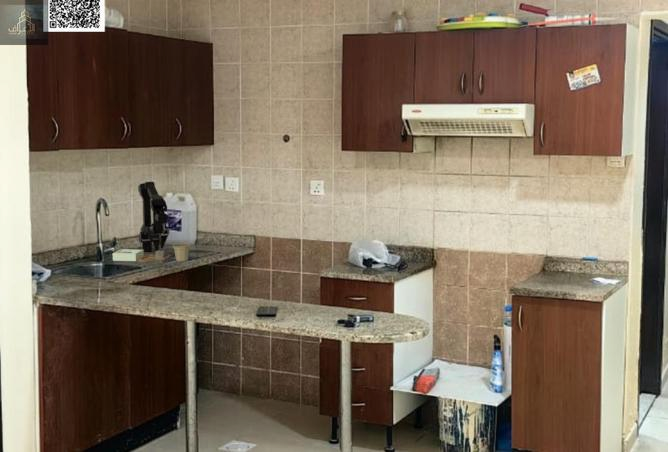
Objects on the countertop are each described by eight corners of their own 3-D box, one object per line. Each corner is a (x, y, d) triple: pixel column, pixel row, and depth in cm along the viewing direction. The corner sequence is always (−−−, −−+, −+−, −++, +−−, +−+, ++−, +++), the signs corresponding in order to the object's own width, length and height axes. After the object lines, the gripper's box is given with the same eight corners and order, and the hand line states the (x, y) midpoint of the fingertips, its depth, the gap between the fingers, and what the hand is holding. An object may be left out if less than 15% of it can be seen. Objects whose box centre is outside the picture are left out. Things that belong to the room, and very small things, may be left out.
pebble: (156, 258, 540) (156, 251, 540) (164, 258, 541) (163, 250, 540) (155, 259, 536) (155, 252, 536) (163, 259, 537) (162, 252, 536)
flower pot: (170, 262, 532) (169, 246, 530) (177, 259, 541) (177, 243, 539) (186, 262, 529) (185, 246, 528) (193, 259, 538) (193, 244, 537)
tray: (147, 256, 548) (147, 254, 548) (171, 257, 546) (171, 254, 546) (137, 262, 532) (136, 259, 532) (162, 262, 530) (162, 260, 529)
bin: (121, 257, 547) (121, 249, 547) (143, 257, 546) (143, 249, 545) (112, 261, 535) (112, 253, 534) (135, 262, 533) (135, 253, 532)
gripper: (149, 218, 546) (150, 246, 548) (138, 223, 528) (139, 252, 530) (169, 218, 544) (170, 246, 547) (158, 223, 526) (159, 252, 528)
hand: (159, 249), depth 538 cm, fingers open, 9 cm apart
